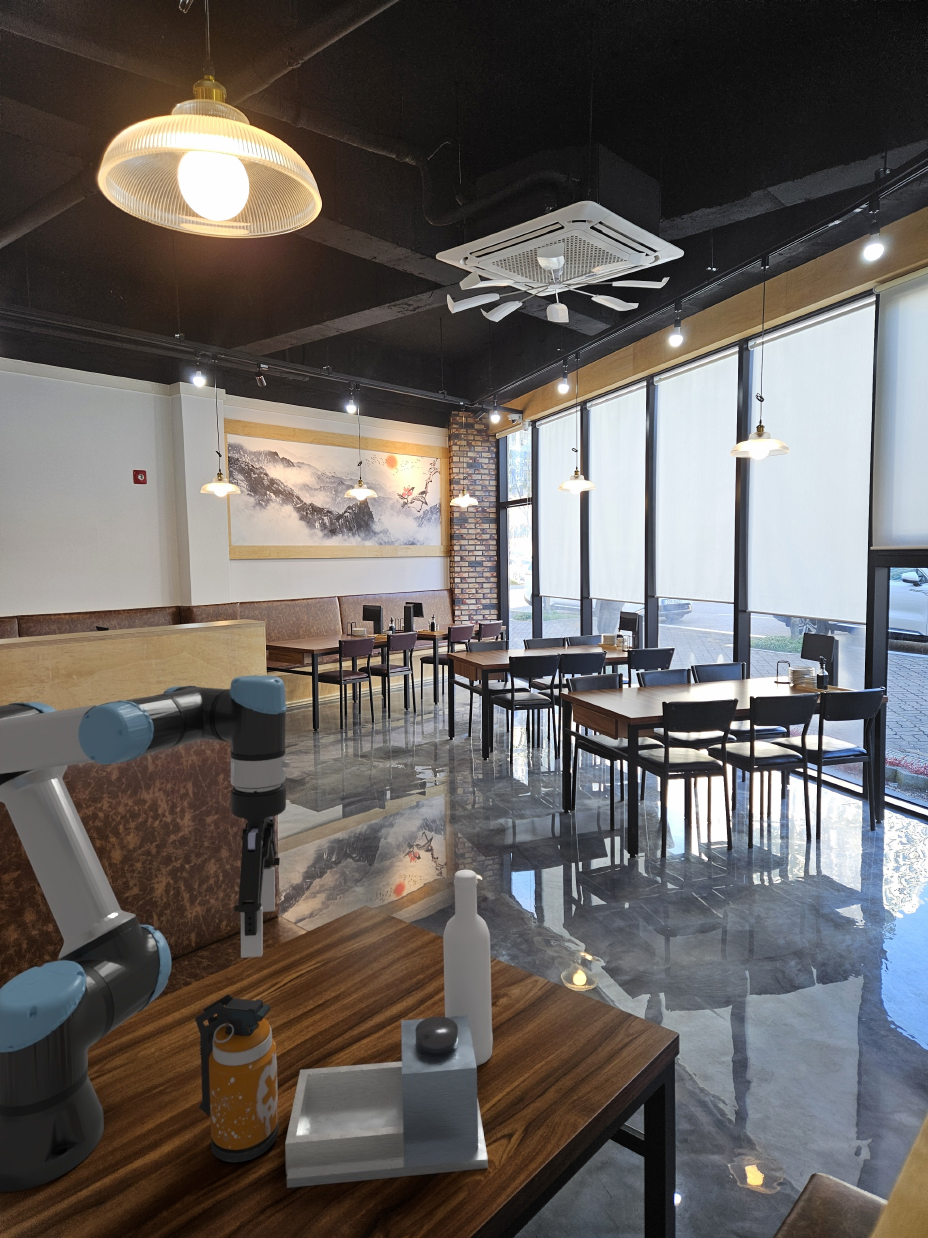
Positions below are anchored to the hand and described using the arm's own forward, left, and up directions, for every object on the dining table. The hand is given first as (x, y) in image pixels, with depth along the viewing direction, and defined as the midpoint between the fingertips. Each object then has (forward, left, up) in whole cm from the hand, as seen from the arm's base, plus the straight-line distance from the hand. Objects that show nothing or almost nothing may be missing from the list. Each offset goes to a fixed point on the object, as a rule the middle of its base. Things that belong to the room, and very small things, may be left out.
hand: (259, 932), depth 101 cm
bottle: (+31, +12, -28) cm, 44 cm away
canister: (-3, -3, -28) cm, 28 cm away
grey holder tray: (+18, -4, -28) cm, 33 cm away
